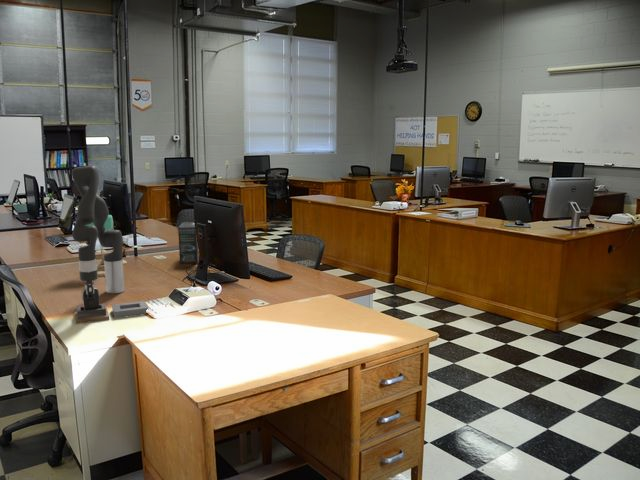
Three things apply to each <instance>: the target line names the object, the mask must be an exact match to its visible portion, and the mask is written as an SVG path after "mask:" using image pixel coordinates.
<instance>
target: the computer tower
mask: <svg viewBox="0 0 640 480" xmlns="http://www.w3.org/2000/svg"><path fill="white" fill-rule="evenodd" d="M177 230H178V249H179V251H178V252H179V264H198V263H199V260H198V258H199V251H198V245H197V238H196V232H195V223H194V222H193V221H192V222H191V221H190V222H188V221H185V222H181V224H180V225H178V227H177Z"/></svg>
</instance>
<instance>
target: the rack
mask: <svg viewBox="0 0 640 480" xmlns="http://www.w3.org/2000/svg"><path fill="white" fill-rule="evenodd" d="M74 318H75V324H76V325H77V324H85V323H92V322H93V323H95V322H101V321H108V320H110V314H109V312H108V309H107V307H106V305H105V303H99V309H92V310H84V305H81V306H80V305H79V306H76V311H74Z"/></svg>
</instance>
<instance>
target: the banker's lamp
mask: <svg viewBox="0 0 640 480" xmlns="http://www.w3.org/2000/svg"><path fill="white" fill-rule="evenodd" d="M85 226H94V224H93V223H91V224H88V225H85ZM104 227H105V229H106V230H115V228H114V219H113V216H112V215H111V214H109V215H108V218H107V220H106V222H105V224H104ZM103 252H104V247H103V246H101V247H100V255H101V256H100V257H101V258H102V259H101V260H100V261H99V263H97V274H98V278H99V277H105V266H104V255H103Z"/></svg>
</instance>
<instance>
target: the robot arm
mask: <svg viewBox="0 0 640 480" xmlns="http://www.w3.org/2000/svg"><path fill="white" fill-rule="evenodd" d="M71 176H72V181H73V182H74V184H75V187H76V188H77V190H78V192H79V193H80V195H81V197H82V198H81V199H80V201H79V202H78V205H77V217H76V222H75V225H74V227H73V228H72V229H73V230H72V233H71V234H72V238H73V240H74V241H75V242H77V243H79V242H81V243H82V242H89V243H88V244H87V245H84V246H83V245H82V246H80V247H79V248H78V250H77V251H78V269H79V273H78V274H79V280H80V281H82V282H85V283H84V289H86V294H87V295H88V304H89V307H94V300H93V299H94V288H95V283H94V281H95V280H97V279H98V278H99V277H98V274H97V265H98V263H97V259H96V257H97V256H96V244H97V241H98V242H99V245H100V247H102V246H103V248H113V250H112V251H111V252H108V253H106V254H103V256H104V266H105V276H104V278H105V291H106V293H107V294H119V293H123V292H124V291H125V277H124V276H125V275H124V263H123V262H124V261H123V253H124V251H123V234H122V232H121V230H119V229H114V230H111V229H110V230H106V229H105V227H104V224H105V222H106V220H107V218H108V215H110V211H109V208H108V205H107V203H106V201H105V200H104V198H102V196H100V195H98V194H97V193H98V188H99V182H100V174H99V171H98V168H97V167H96V166H94V165H87V166H86V165H85V166H77V167H74V168H73V169H72V171H71ZM91 223H93V224H94V226H85V225H88V224H91ZM89 295H92V296H89Z"/></svg>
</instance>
